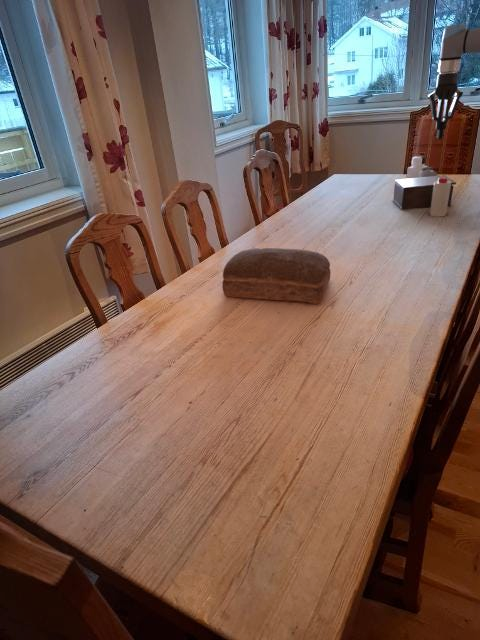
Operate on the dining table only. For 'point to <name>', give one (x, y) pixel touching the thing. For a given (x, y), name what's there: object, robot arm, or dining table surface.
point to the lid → (420, 182)
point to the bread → (277, 275)
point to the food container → (427, 172)
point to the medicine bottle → (416, 167)
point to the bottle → (440, 197)
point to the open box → (415, 197)
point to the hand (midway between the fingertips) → (439, 138)
